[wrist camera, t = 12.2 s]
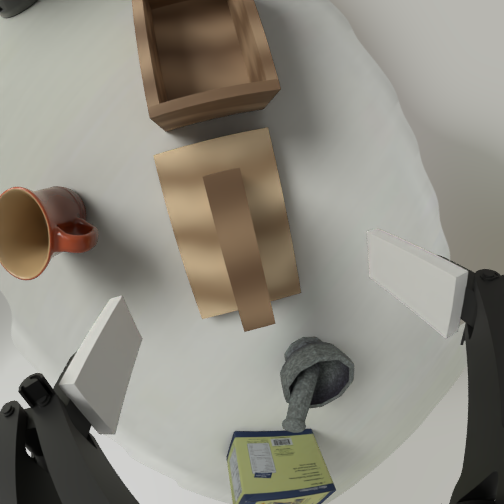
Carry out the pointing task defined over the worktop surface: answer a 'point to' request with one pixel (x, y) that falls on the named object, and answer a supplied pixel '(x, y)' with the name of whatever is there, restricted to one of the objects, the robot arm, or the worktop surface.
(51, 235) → the mug
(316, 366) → the mortar and pestle
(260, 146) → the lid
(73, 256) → the worktop surface
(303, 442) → the protein box
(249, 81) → the box
